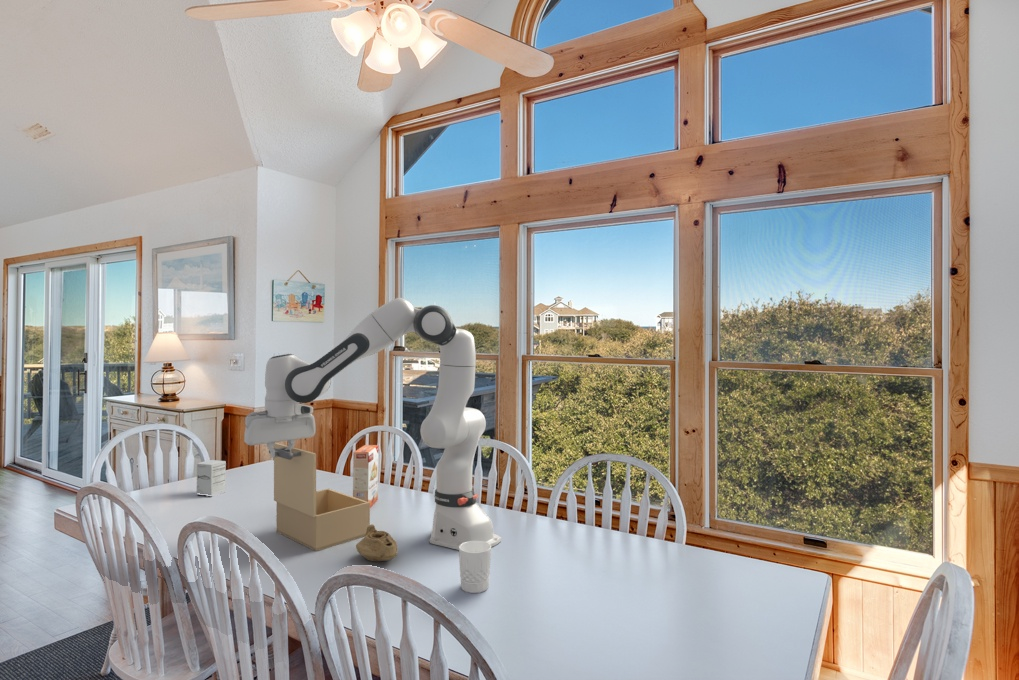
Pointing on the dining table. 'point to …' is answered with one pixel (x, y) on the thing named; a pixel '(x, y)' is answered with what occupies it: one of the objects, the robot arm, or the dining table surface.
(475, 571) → the white cup
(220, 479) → the supplement box
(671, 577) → the dining table surface
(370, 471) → the cracker box
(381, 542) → the oil lamp
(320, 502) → the carton
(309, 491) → the carton lid
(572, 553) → the dining table surface
